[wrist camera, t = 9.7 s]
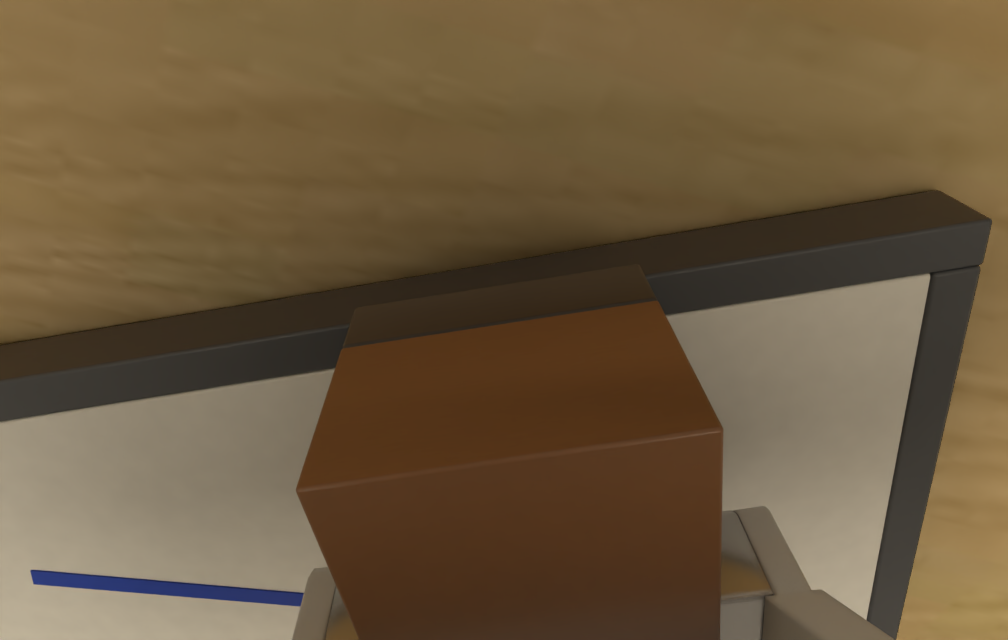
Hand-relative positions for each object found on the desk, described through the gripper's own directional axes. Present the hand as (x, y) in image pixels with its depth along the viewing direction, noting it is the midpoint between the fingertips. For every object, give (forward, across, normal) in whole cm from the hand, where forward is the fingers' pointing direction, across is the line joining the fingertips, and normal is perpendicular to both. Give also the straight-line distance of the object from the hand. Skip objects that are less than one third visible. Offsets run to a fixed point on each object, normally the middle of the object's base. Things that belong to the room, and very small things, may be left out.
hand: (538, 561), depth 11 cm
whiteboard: (+3, +4, +2) cm, 6 cm away
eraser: (+2, 0, 0) cm, 2 cm away
